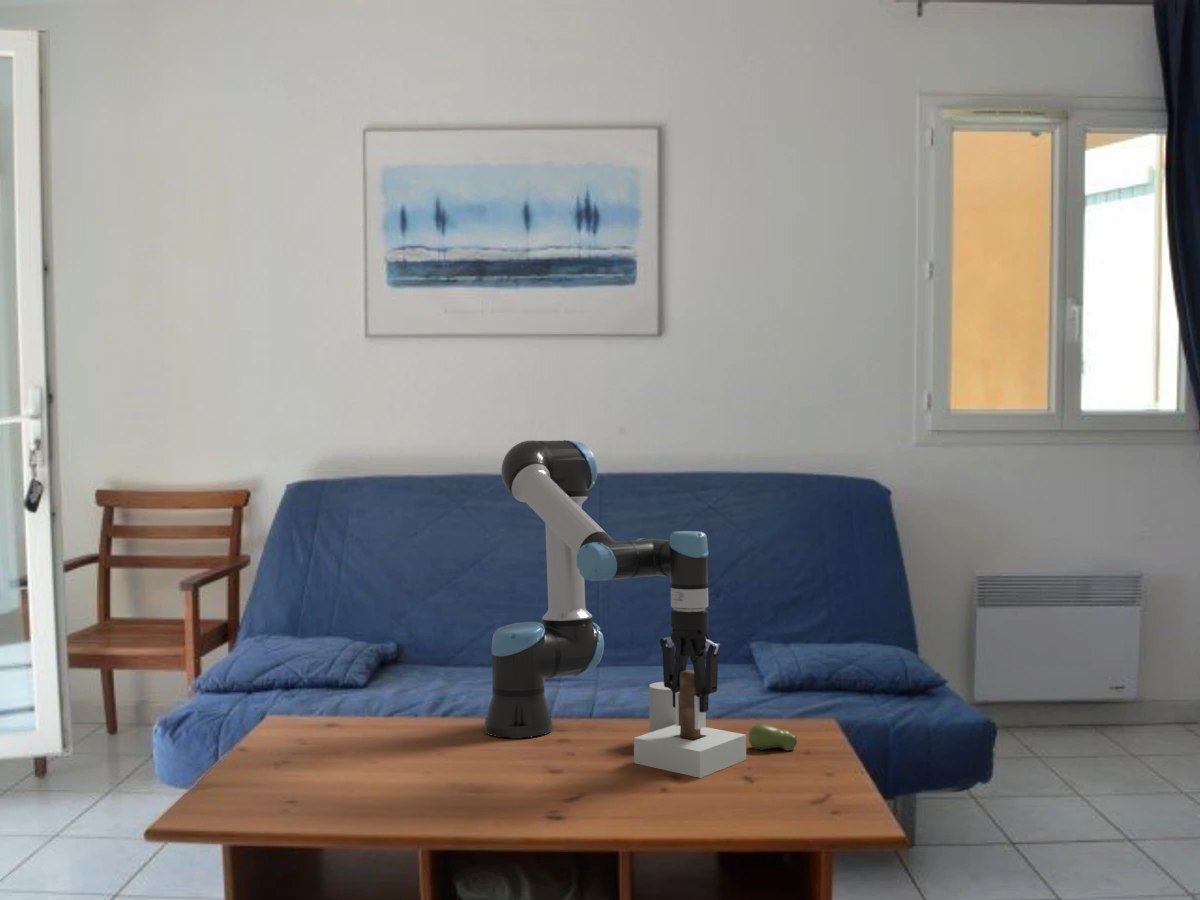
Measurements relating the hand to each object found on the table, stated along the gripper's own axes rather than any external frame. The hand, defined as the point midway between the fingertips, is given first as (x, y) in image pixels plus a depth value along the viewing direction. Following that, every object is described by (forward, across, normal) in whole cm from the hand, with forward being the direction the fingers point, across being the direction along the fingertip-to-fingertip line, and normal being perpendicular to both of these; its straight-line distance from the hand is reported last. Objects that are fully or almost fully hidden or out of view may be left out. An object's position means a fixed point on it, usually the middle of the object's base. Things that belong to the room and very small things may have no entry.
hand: (690, 725), depth 218 cm
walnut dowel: (+3, 0, 0) cm, 3 cm away
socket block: (+7, 0, 0) cm, 7 cm away
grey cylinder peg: (+7, -12, +9) cm, 17 cm away
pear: (+7, +8, +18) cm, 21 cm away
